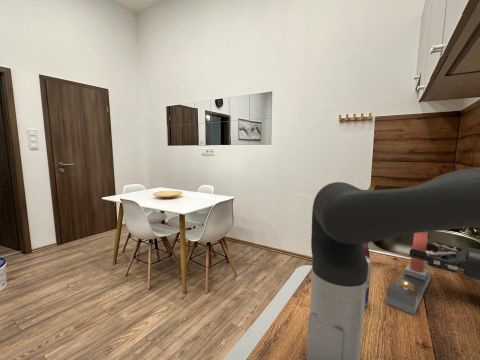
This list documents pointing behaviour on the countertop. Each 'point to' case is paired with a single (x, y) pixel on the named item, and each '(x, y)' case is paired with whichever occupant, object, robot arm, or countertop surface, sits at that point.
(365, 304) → the energy drink
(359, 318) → the robot arm
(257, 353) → the countertop surface
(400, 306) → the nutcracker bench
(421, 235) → the handle
